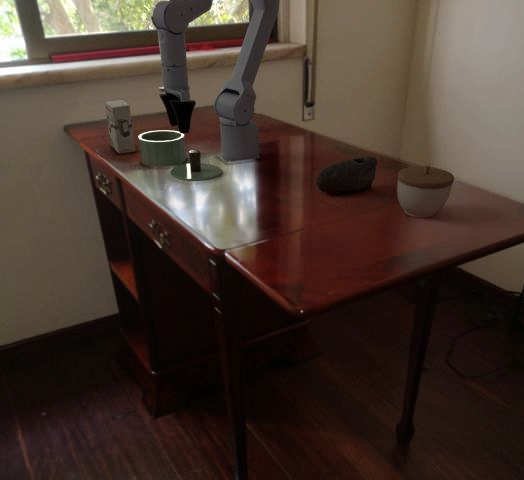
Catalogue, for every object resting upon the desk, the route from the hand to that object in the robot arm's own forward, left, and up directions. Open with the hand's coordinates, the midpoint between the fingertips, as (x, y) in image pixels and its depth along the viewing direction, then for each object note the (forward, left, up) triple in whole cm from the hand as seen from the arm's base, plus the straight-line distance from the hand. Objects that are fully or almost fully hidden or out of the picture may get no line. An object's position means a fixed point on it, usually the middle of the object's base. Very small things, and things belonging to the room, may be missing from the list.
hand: (179, 129), depth 126 cm
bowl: (+2, -9, -10) cm, 13 cm away
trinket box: (-35, +47, -10) cm, 60 cm away
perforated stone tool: (-29, +30, -10) cm, 43 cm away
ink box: (+9, -25, -10) cm, 28 cm away
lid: (-2, +5, -9) cm, 11 cm away
